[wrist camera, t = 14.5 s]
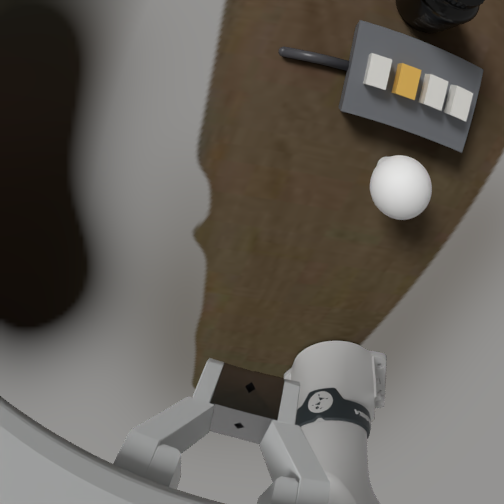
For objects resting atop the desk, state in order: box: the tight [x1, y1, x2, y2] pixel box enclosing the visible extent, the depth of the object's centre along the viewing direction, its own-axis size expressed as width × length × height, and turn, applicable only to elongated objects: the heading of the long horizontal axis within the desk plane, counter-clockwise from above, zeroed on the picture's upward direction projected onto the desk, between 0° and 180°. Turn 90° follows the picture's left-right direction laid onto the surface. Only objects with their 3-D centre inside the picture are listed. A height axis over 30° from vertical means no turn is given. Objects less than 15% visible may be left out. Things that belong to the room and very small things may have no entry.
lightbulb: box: [370, 155, 432, 220], centre depth 30 cm, size 6×6×11 cm
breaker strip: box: [279, 20, 483, 153], centre depth 27 cm, size 22×10×6 cm, turn 81°
